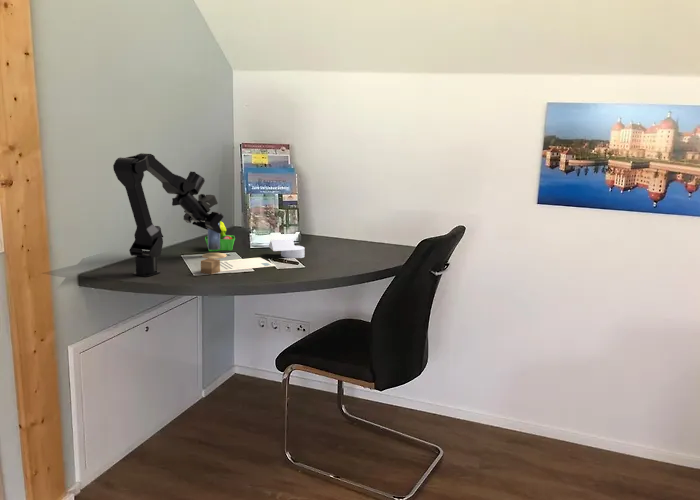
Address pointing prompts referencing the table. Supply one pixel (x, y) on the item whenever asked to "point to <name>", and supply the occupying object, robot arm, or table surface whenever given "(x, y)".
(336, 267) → the table surface
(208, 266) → the cube
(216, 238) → the flask
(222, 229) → the fruit basket
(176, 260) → the table surface
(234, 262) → the letter
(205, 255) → the coaster
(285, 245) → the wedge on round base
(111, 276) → the table surface
